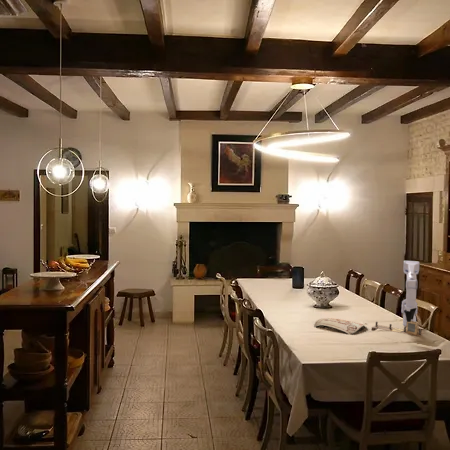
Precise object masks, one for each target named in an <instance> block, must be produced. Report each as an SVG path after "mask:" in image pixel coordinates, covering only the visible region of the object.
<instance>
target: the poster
mask: <svg viewBox="0 0 450 450" xmlns="http://www.w3.org/2000/svg"><path fill="white" fill-rule="evenodd" d="M366 325H368V323H366V322H365V323H359V322H354V321H350V320H346V319H341V318H333V317H331V318H329V317H325V318H319V319H317V320H316V321H315V322H314V324H313V327H315V328H316V327H318V326H325V327H330V328H334V329H337V330H339V331H342V332H345V333H346V334H347V335H349V336H350V335H353V334H355V333H357V332H358V331H359V330H360V329H361V328H362V327H364V326H366Z"/></svg>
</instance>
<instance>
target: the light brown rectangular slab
mask: <svg viewBox="0 0 450 450" xmlns="http://www.w3.org/2000/svg"><path fill="white" fill-rule="evenodd" d="M419 324H420V323H419V322H418V321H416V322H415V321H411V322H407V326H406V333H410V334H418V332H419Z"/></svg>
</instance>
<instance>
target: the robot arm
mask: <svg viewBox="0 0 450 450" xmlns="http://www.w3.org/2000/svg"><path fill="white" fill-rule="evenodd" d="M402 267H403V270H402V271H403V274H405V275H406V281H405V289H406V290H405V291H406V294H405V299H403V300H402V301H401V314H403V316H402V325H403V327H407V322H411V321H415V322H417V316H416V315H417V314H418V302H417V301H416V300H417V290H418V279H417V275H419V271H420V261H415V260H403V266H402Z"/></svg>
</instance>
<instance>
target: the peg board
mask: <svg viewBox="0 0 450 450" xmlns="http://www.w3.org/2000/svg"><path fill="white" fill-rule="evenodd" d="M378 323H379V322H378V321H375V325H374V326H372V327H371V331H376V330H384V331H386V332H387V331H388V332H394V333H399V334H405V335H409V336H414V337H421V336H423V335H424V334H425V333H424V332H422V329H421V328H418V334H410V333H406V329H407V326H403V328H399V327H394V326H393V327H392V323H389V326H387V325H381V324H378Z"/></svg>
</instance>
